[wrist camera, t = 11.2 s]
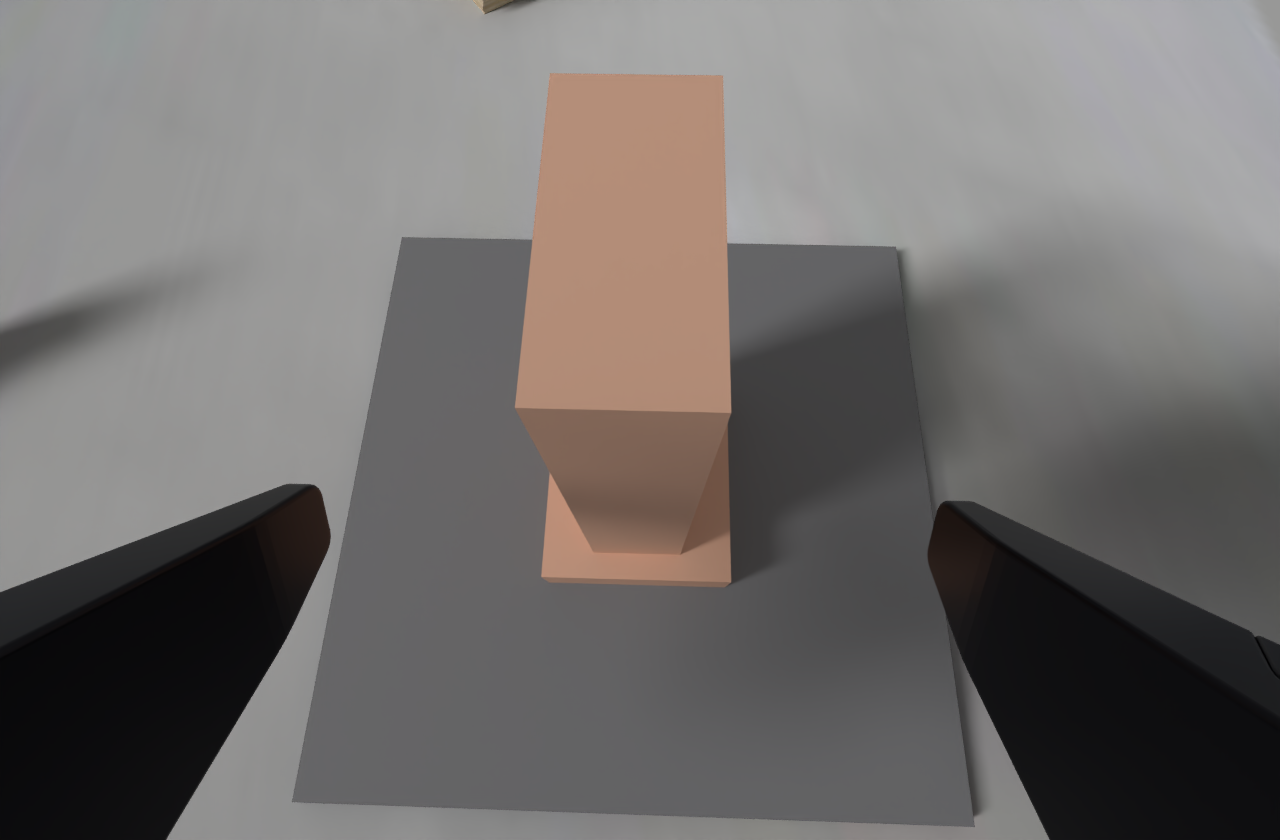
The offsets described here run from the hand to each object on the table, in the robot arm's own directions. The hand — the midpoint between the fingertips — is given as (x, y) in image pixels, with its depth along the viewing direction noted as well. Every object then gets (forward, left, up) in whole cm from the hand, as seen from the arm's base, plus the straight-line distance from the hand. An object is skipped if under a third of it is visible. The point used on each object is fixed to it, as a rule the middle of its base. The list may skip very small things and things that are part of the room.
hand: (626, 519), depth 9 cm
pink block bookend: (+2, -2, -10) cm, 10 cm away
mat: (+2, -2, -10) cm, 11 cm away
